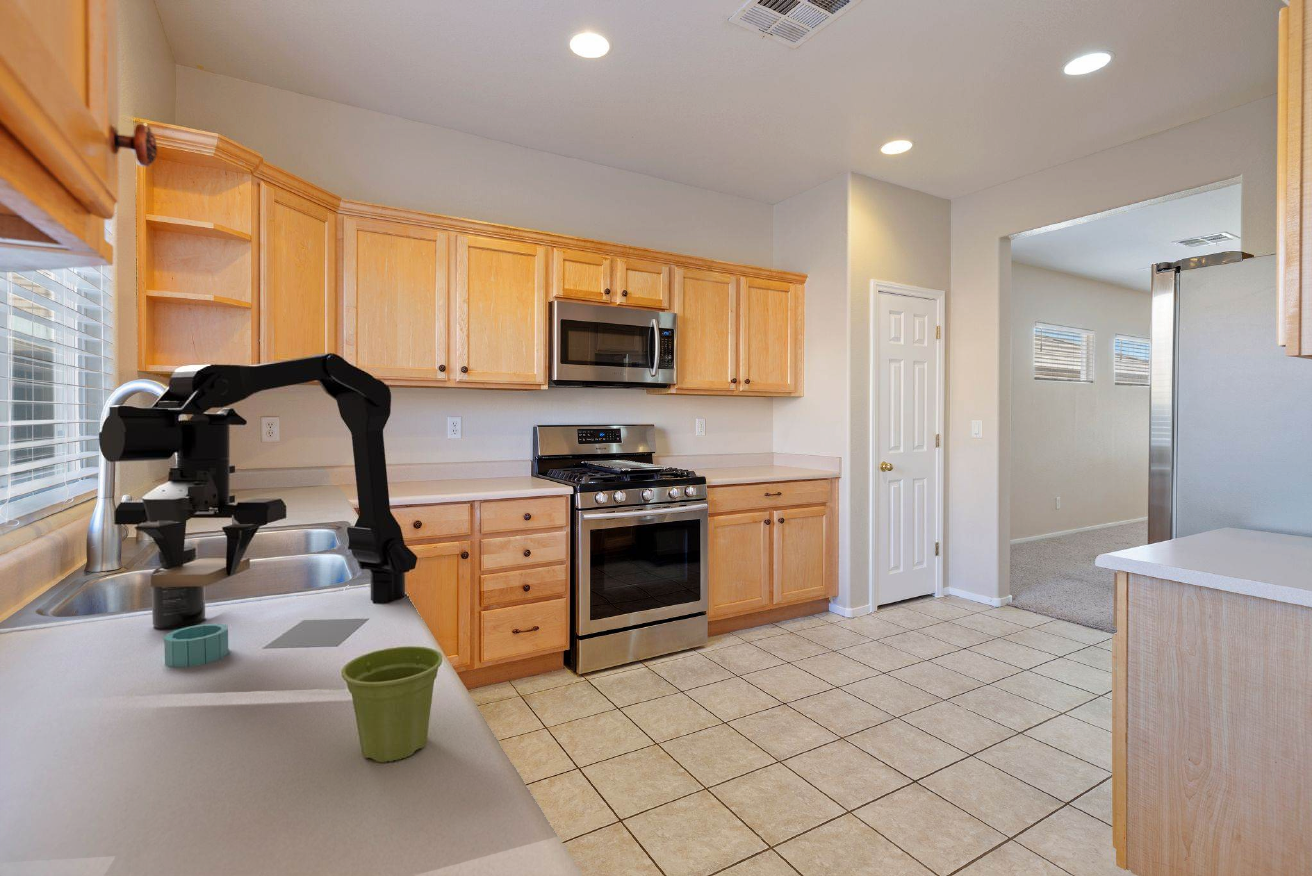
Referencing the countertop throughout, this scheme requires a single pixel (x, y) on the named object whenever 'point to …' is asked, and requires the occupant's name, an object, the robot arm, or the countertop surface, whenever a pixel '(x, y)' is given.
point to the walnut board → (196, 573)
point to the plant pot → (392, 699)
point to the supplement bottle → (177, 599)
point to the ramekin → (196, 645)
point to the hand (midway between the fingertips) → (203, 575)
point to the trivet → (317, 633)
